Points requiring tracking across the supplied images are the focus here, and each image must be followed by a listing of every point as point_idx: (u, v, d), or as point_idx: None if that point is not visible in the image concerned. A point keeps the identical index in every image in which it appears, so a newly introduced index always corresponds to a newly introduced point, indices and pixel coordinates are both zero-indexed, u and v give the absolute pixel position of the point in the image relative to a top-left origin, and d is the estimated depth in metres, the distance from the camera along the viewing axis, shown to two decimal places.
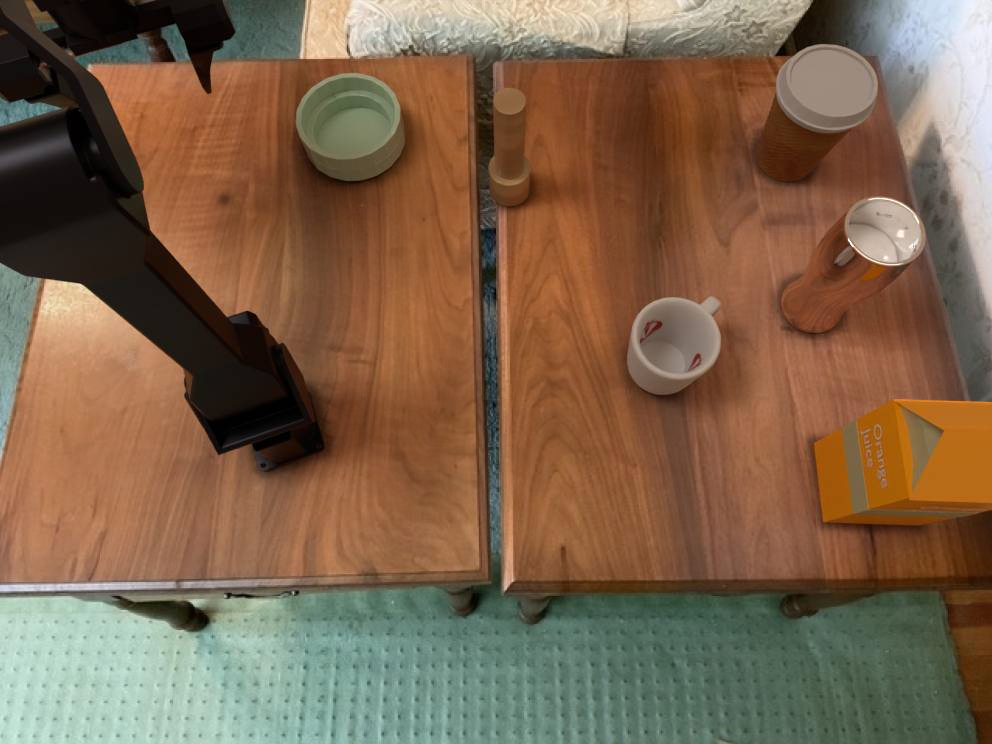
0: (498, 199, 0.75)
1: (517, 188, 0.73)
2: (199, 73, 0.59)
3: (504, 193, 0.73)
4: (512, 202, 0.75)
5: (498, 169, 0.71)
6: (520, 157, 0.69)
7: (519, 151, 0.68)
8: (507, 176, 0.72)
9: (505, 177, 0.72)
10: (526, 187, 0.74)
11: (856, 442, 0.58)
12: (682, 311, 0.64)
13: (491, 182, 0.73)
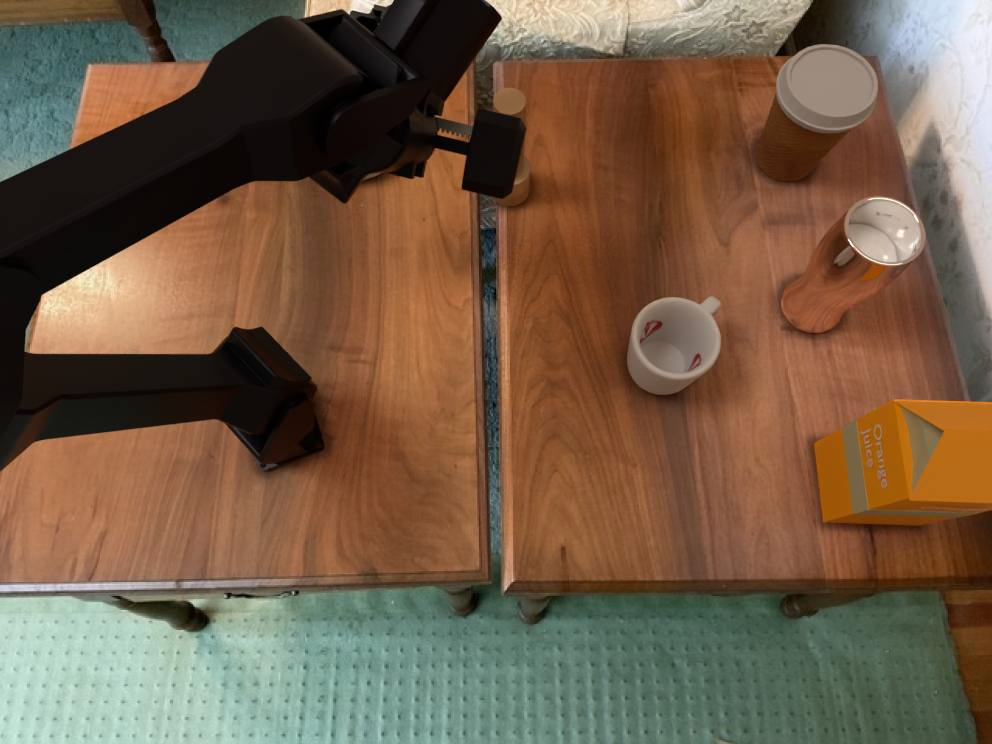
0: (498, 199, 0.75)
1: (517, 188, 0.73)
2: None
3: None
4: (512, 202, 0.75)
5: None
6: (520, 157, 0.69)
7: None
8: None
9: None
10: (526, 187, 0.74)
11: (856, 442, 0.58)
12: (682, 311, 0.64)
13: None
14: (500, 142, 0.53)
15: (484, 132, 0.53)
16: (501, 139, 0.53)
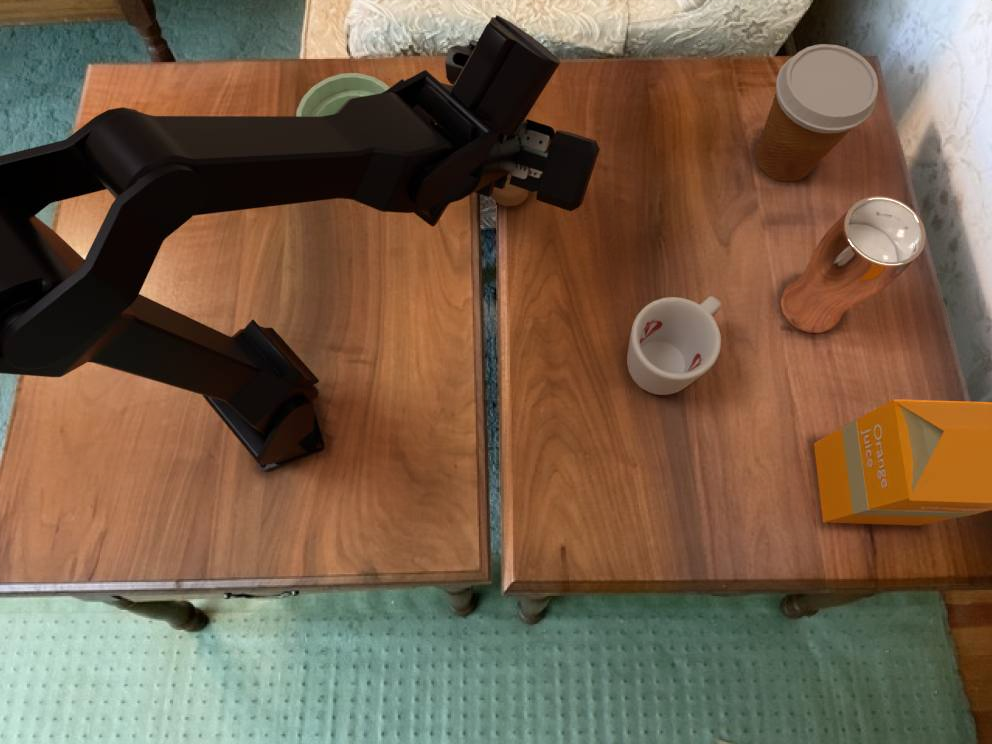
0: (498, 199, 0.75)
1: (517, 188, 0.73)
2: None
3: (504, 193, 0.73)
4: (512, 201, 0.75)
5: None
6: None
7: None
8: None
9: None
10: None
11: (856, 442, 0.58)
12: (682, 311, 0.64)
13: None
14: (572, 164, 0.60)
15: (558, 154, 0.60)
16: (573, 161, 0.60)
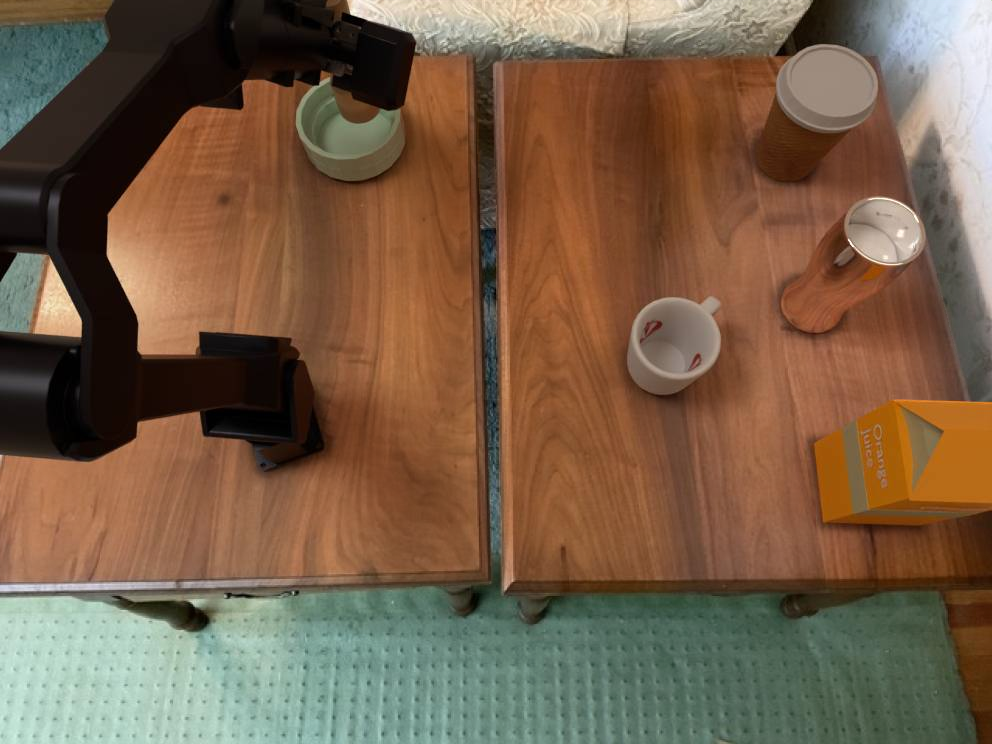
0: (345, 115, 0.71)
1: None
2: None
3: (348, 107, 0.70)
4: (359, 118, 0.71)
5: None
6: None
7: None
8: None
9: None
10: None
11: (856, 442, 0.58)
12: (682, 311, 0.64)
13: (334, 95, 0.69)
14: (381, 55, 0.56)
15: (367, 45, 0.56)
16: (382, 52, 0.56)
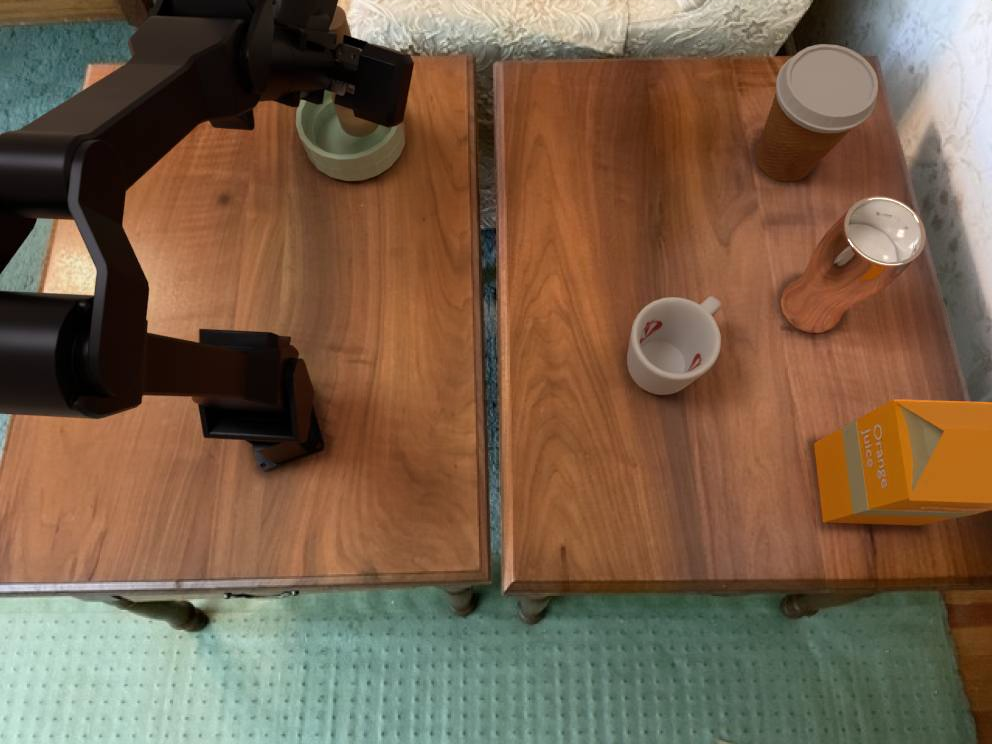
0: (346, 129, 0.75)
1: None
2: None
3: (349, 122, 0.73)
4: (359, 131, 0.74)
5: None
6: None
7: None
8: None
9: None
10: None
11: (856, 442, 0.58)
12: (682, 311, 0.64)
13: (335, 110, 0.73)
14: (381, 76, 0.59)
15: (368, 66, 0.59)
16: (382, 73, 0.59)
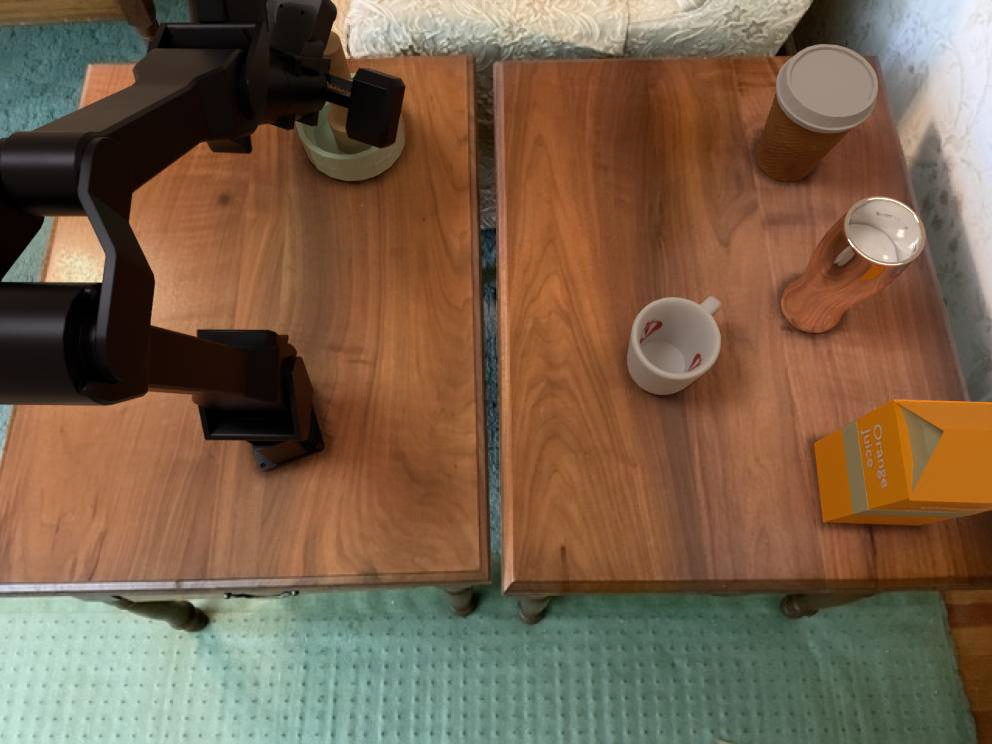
0: (342, 147, 0.77)
1: None
2: None
3: (344, 141, 0.75)
4: (355, 150, 0.77)
5: (334, 116, 0.73)
6: None
7: None
8: (343, 123, 0.73)
9: (342, 124, 0.74)
10: None
11: (856, 442, 0.58)
12: (682, 311, 0.64)
13: (331, 130, 0.75)
14: (373, 99, 0.61)
15: (361, 90, 0.61)
16: (374, 97, 0.61)
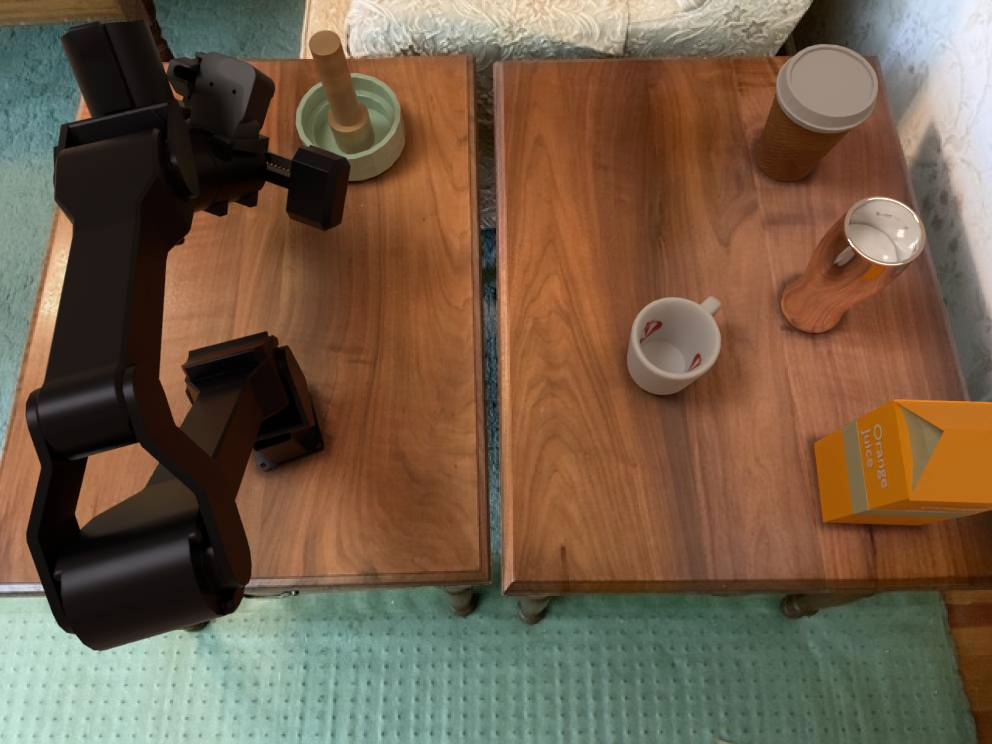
0: (342, 147, 0.77)
1: (355, 135, 0.75)
2: None
3: (344, 141, 0.75)
4: (355, 150, 0.77)
5: (334, 116, 0.73)
6: (350, 102, 0.71)
7: (348, 96, 0.70)
8: (343, 123, 0.73)
9: (342, 124, 0.74)
10: (367, 135, 0.76)
11: (856, 442, 0.58)
12: (682, 311, 0.64)
13: (331, 130, 0.75)
14: (314, 182, 0.57)
15: (301, 171, 0.57)
16: (315, 179, 0.57)
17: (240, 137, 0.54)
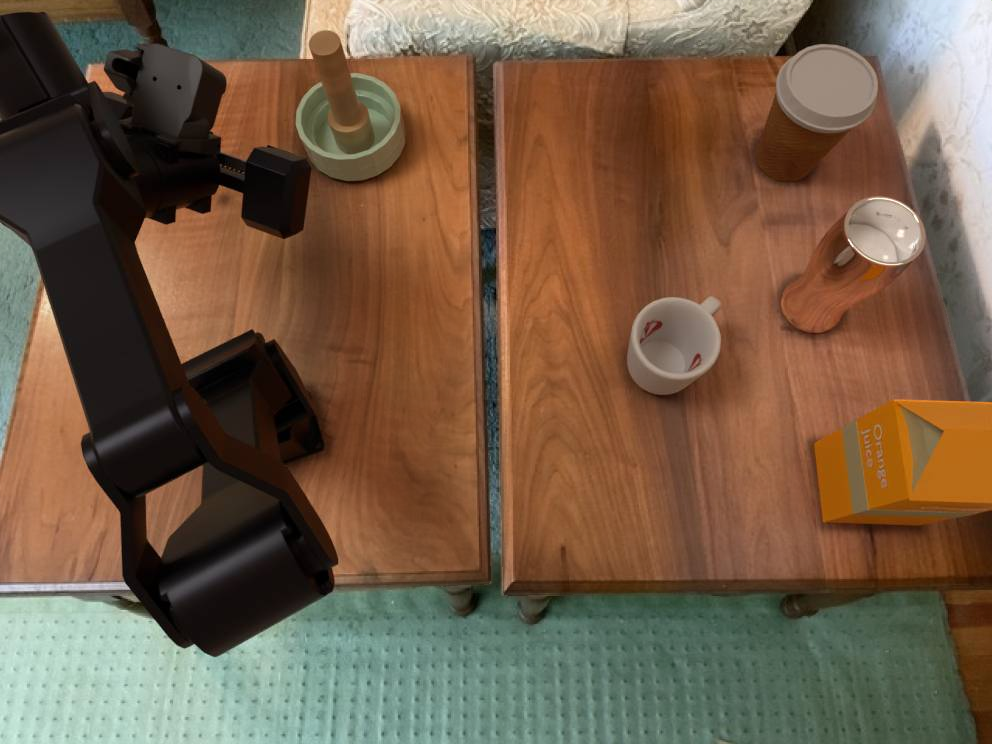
0: (342, 147, 0.77)
1: (355, 135, 0.75)
2: None
3: (344, 141, 0.75)
4: (355, 150, 0.77)
5: (334, 116, 0.73)
6: (350, 102, 0.71)
7: (348, 96, 0.70)
8: (343, 123, 0.73)
9: (342, 124, 0.74)
10: (367, 135, 0.76)
11: (856, 442, 0.58)
12: (682, 311, 0.64)
13: (331, 130, 0.75)
14: (271, 186, 0.52)
15: (256, 174, 0.52)
16: (272, 183, 0.52)
17: (187, 137, 0.50)
